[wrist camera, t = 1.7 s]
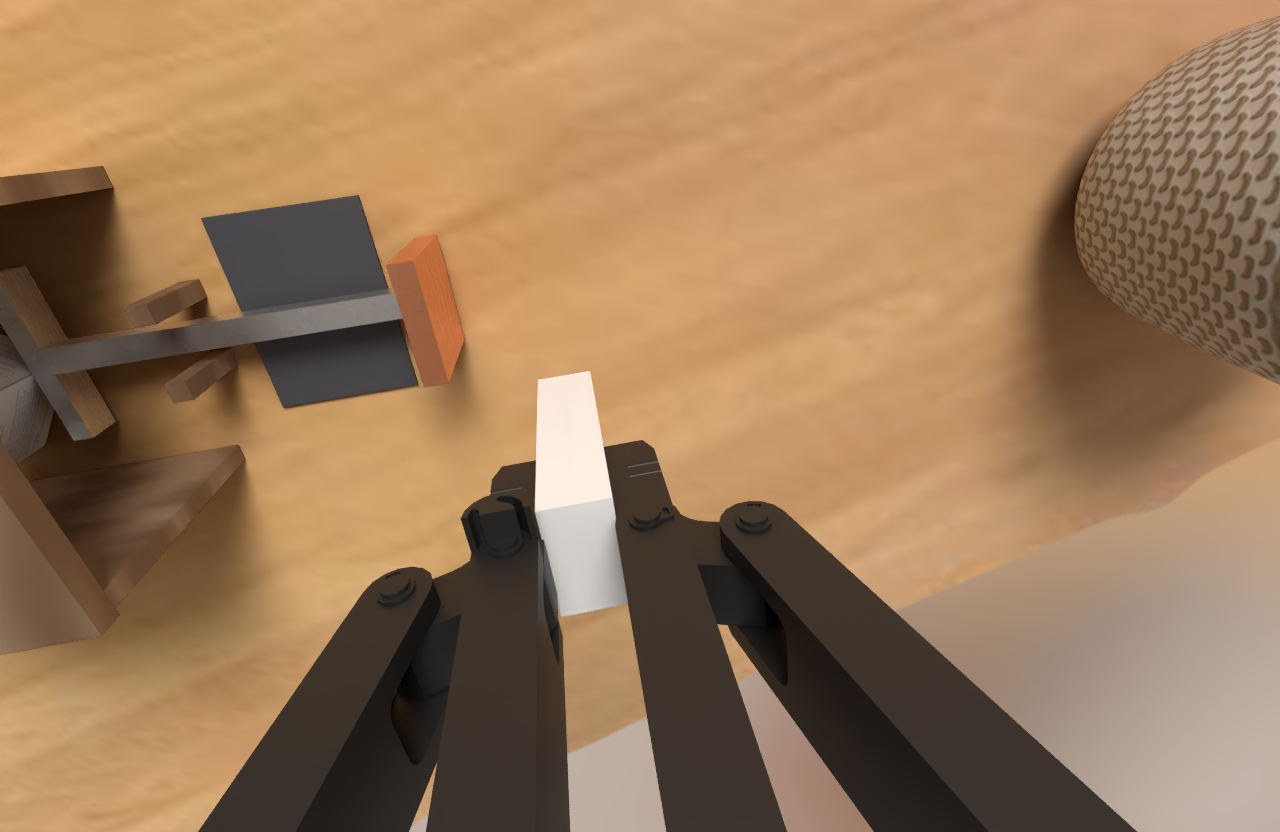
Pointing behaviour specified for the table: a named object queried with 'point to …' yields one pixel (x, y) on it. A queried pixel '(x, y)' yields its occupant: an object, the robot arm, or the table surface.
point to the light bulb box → (21, 405)
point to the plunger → (228, 332)
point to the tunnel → (98, 491)
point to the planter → (1195, 201)
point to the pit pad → (313, 295)
